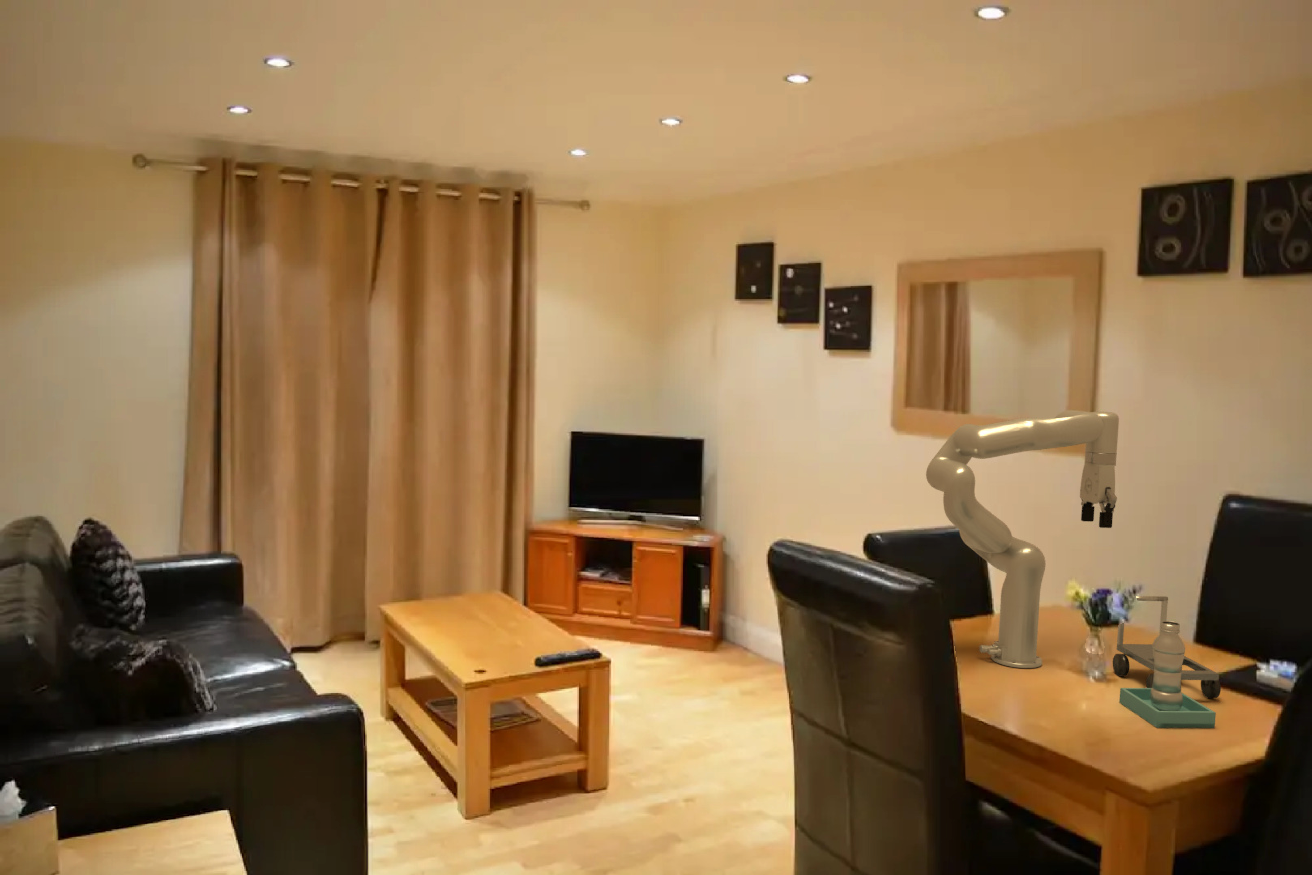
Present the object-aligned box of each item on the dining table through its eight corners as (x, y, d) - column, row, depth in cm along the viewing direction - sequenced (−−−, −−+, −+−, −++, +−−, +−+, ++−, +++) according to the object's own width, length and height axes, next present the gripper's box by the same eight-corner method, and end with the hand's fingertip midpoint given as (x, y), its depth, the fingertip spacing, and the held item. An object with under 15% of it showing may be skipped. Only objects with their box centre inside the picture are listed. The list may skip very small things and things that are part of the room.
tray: (1156, 727, 223) (1158, 712, 223) (1119, 702, 239) (1120, 687, 239) (1214, 728, 224) (1215, 712, 223) (1173, 702, 240) (1174, 688, 239)
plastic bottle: (1181, 717, 227) (1186, 628, 225) (1147, 711, 230) (1152, 624, 228) (1183, 709, 232) (1188, 622, 230) (1150, 703, 236) (1155, 617, 234)
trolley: (1160, 702, 239) (1166, 620, 238) (1109, 670, 263) (1114, 595, 262) (1223, 703, 240) (1229, 620, 239) (1165, 670, 264) (1171, 596, 263)
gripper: (1071, 455, 276) (1067, 518, 277) (1102, 462, 259) (1098, 530, 260) (1098, 456, 276) (1094, 519, 278) (1131, 463, 259) (1127, 530, 261)
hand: (1096, 524), depth 269 cm, fingers open, 9 cm apart
